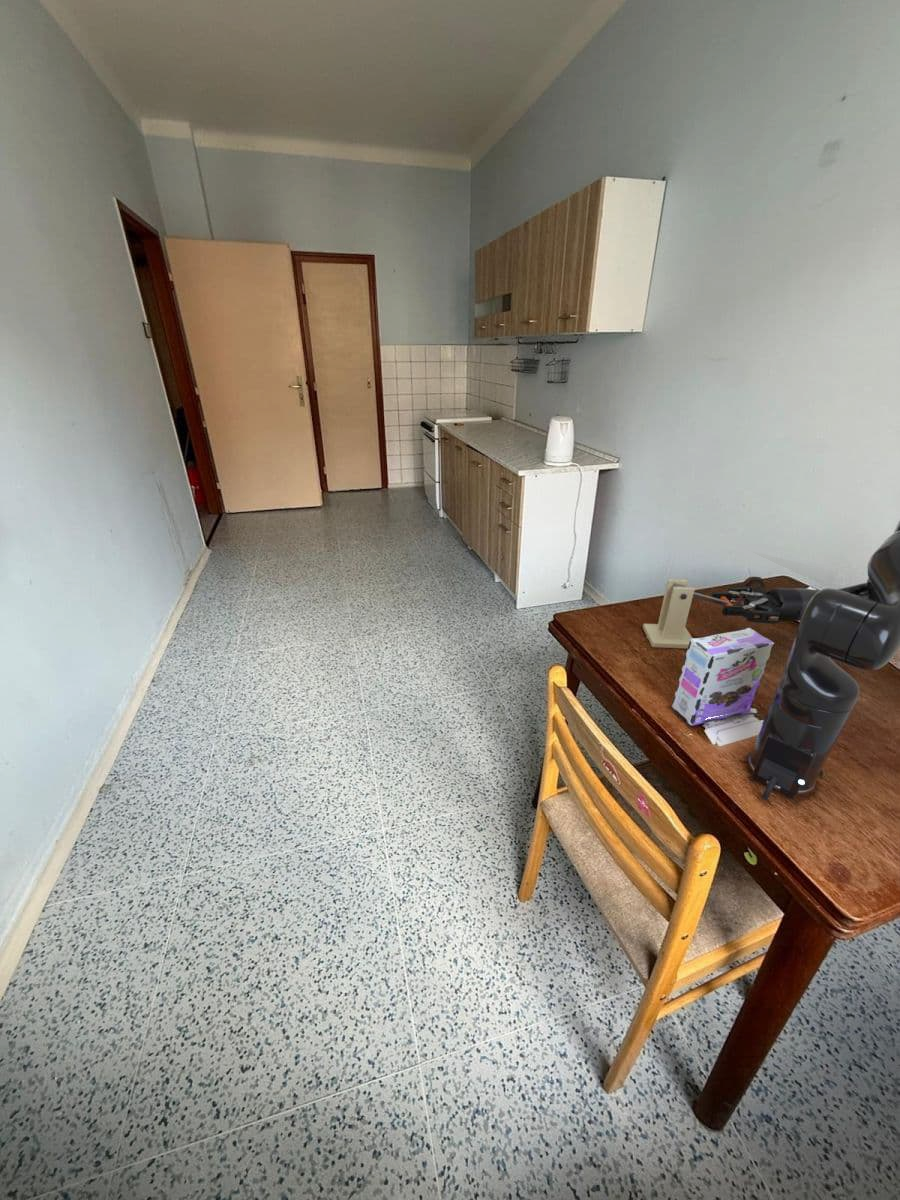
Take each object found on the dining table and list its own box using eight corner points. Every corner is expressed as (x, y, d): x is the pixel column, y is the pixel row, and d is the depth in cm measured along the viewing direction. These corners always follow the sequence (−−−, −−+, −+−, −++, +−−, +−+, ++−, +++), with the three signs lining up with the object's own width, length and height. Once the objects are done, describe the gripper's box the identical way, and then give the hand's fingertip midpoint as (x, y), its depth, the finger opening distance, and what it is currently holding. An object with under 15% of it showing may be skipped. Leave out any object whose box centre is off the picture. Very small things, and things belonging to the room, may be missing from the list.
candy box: (690, 727, 89) (712, 655, 81) (670, 707, 94) (688, 637, 86) (750, 713, 92) (777, 642, 84) (727, 694, 97) (750, 625, 89)
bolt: (770, 623, 124) (745, 595, 137) (791, 616, 122) (763, 588, 135) (764, 607, 122) (739, 580, 134) (785, 599, 120) (758, 572, 133)
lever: (722, 603, 113) (727, 594, 112) (733, 615, 108) (739, 606, 107) (667, 587, 113) (672, 579, 112) (675, 599, 107) (680, 590, 106)
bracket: (683, 629, 119) (696, 576, 112) (695, 649, 111) (711, 593, 104) (642, 627, 120) (653, 575, 113) (652, 647, 112) (664, 592, 105)
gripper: (782, 576, 113) (708, 576, 115) (817, 605, 100) (734, 604, 102) (773, 604, 116) (702, 603, 118) (806, 635, 104) (726, 633, 105)
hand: (717, 603), depth 110 cm, fingers closed on lever, 6 cm apart
